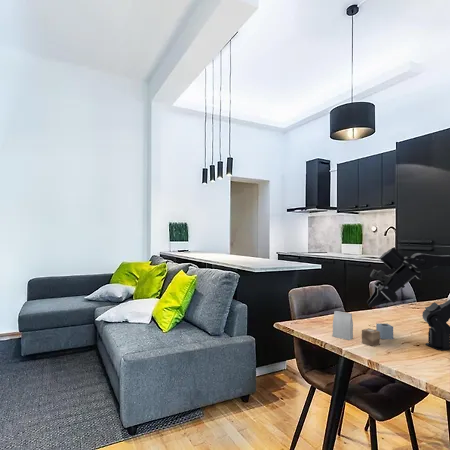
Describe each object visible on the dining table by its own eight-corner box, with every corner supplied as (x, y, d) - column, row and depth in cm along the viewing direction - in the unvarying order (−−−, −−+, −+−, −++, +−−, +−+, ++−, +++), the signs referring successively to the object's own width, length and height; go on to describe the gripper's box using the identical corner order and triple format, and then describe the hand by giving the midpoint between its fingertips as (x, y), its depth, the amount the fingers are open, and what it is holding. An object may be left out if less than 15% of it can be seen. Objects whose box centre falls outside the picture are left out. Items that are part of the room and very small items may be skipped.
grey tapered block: (349, 340, 127) (349, 314, 127) (332, 336, 131) (332, 311, 131) (352, 338, 130) (353, 312, 130) (336, 334, 134) (336, 310, 134)
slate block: (393, 339, 129) (393, 326, 129) (382, 339, 129) (382, 326, 129) (387, 335, 133) (387, 323, 134) (376, 335, 133) (376, 322, 133)
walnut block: (379, 344, 122) (379, 330, 122) (372, 346, 120) (372, 332, 120) (368, 341, 126) (368, 327, 126) (361, 343, 123) (361, 329, 124)
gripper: (379, 261, 136) (351, 286, 139) (387, 264, 118) (354, 293, 121) (400, 281, 133) (371, 306, 136) (412, 288, 115) (378, 316, 118)
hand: (368, 304), depth 128 cm, fingers open, 5 cm apart
